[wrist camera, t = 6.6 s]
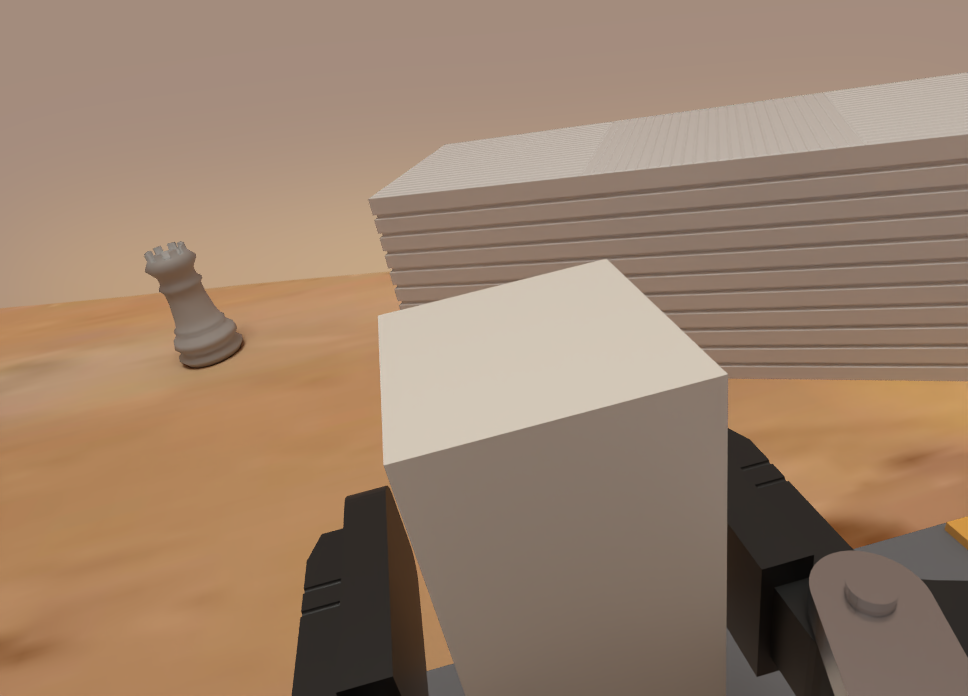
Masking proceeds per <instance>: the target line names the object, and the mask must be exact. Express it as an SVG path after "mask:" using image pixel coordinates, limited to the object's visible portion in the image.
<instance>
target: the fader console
mask: <svg viewBox="0 0 968 696" xmlns="http://www.w3.org/2000/svg"><path fill="white" fill-rule="evenodd" d="M853 550H855V551H864V552H870V553H874V554H878V555H881V556H884V557H886V558H889V559H891V560H894V561H895V562H897V563H899V564H901V565H903V566H904V567H906V568H907V569H909V570H910V571H912V572H913V573H914V574H915V575H917V576H918V577H919V578H920V579H925V580H961V581H968V516H967V517H964V518H960V519H957V520H953V521H950V522H946V523H944V524H940V525H937V526H933V527H930V528H926V529H923V530H919V531H916V532H912V533H909V534H905V535H902V536H898V537H895V538H891V539H888V540H884V541H881V542H877V543H874V544H870V545H867V546H863V547H860V548H856V549H853ZM427 682H428V693H429V696H465V693H464V690H463V687H462V685H461V682H460V679H459V676H458V673H457V670H456V668H455V665H454V664H451V665H447V666H444V667H440V668H437V669H433V670H430V671H427ZM726 696H796V695H795V694H794V692H793V691H792V689H791V688H790V686H789V684H788V683H787V681H786V680H785V678H784V677H783V675H782V674H781V672H780V671H776V672H773V673H769V674H766V675H762V676H759V677H756V675H755V673H754V672H753V670H752V668H751V667H750V665H749V663H748V662H747V660H746V658H745V657H744V655H743V653H742V652H741V650H740V648H739V647H738V645H737V644H736V642H735V640H734V639H733V637H732V635H731V634H730V632H729V630H728V629H727V627H726Z"/></svg>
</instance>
